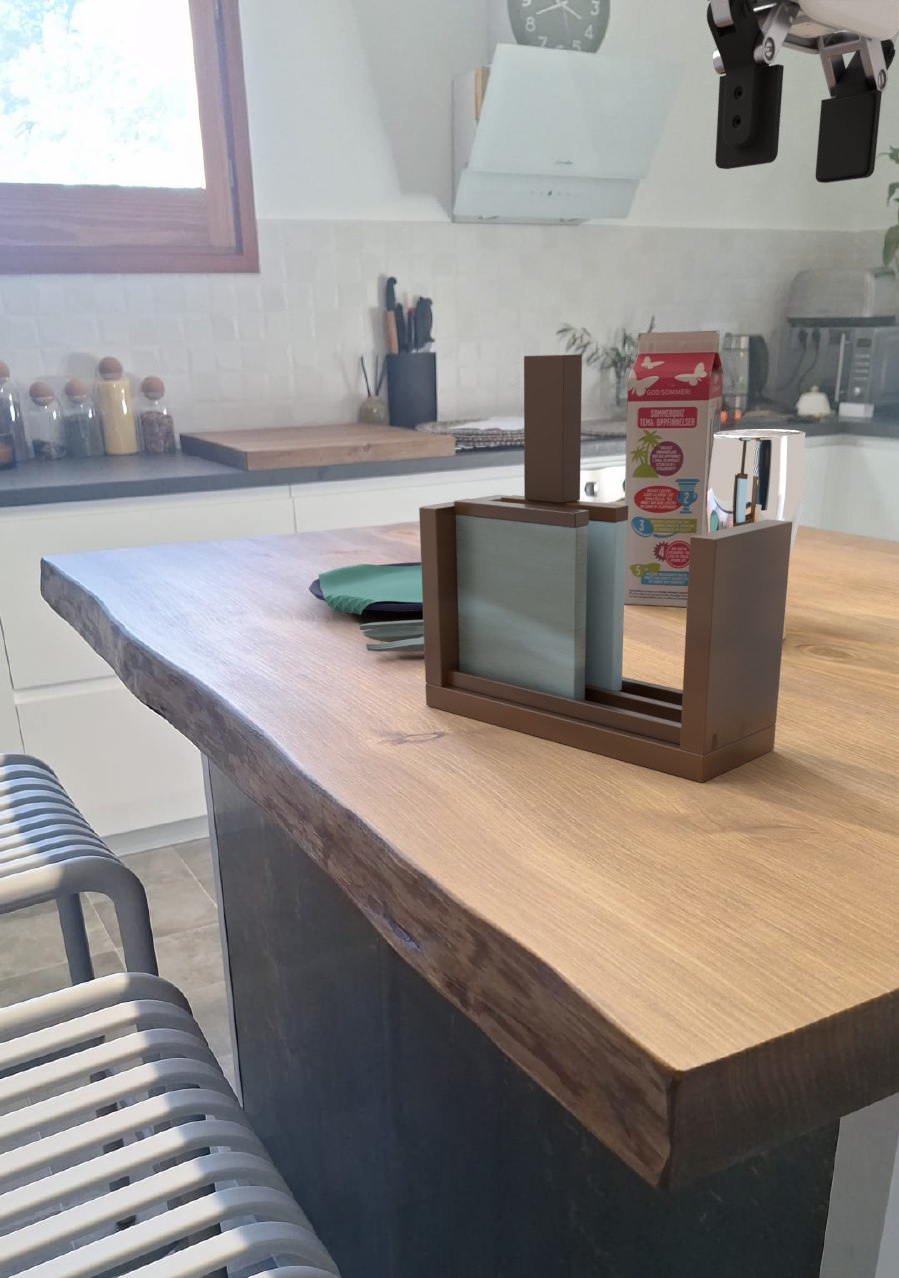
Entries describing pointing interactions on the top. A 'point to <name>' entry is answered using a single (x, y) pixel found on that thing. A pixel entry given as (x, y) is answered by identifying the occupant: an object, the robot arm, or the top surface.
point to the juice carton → (668, 459)
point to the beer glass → (755, 478)
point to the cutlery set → (377, 600)
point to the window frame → (556, 636)
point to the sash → (575, 503)
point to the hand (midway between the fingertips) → (797, 172)
